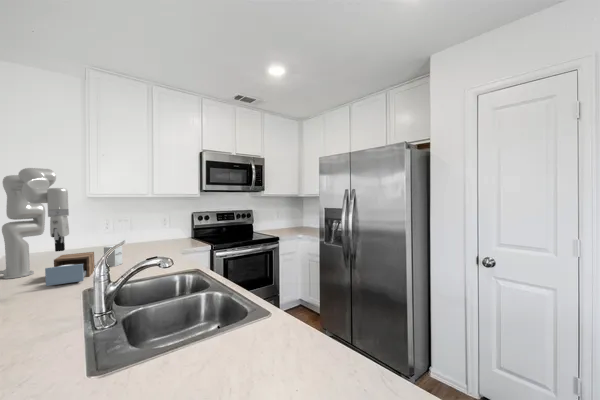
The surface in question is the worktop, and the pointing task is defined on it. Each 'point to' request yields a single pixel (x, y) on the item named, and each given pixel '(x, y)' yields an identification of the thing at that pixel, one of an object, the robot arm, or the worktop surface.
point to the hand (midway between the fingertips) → (60, 250)
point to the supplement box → (114, 256)
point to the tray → (64, 274)
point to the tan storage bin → (77, 261)
